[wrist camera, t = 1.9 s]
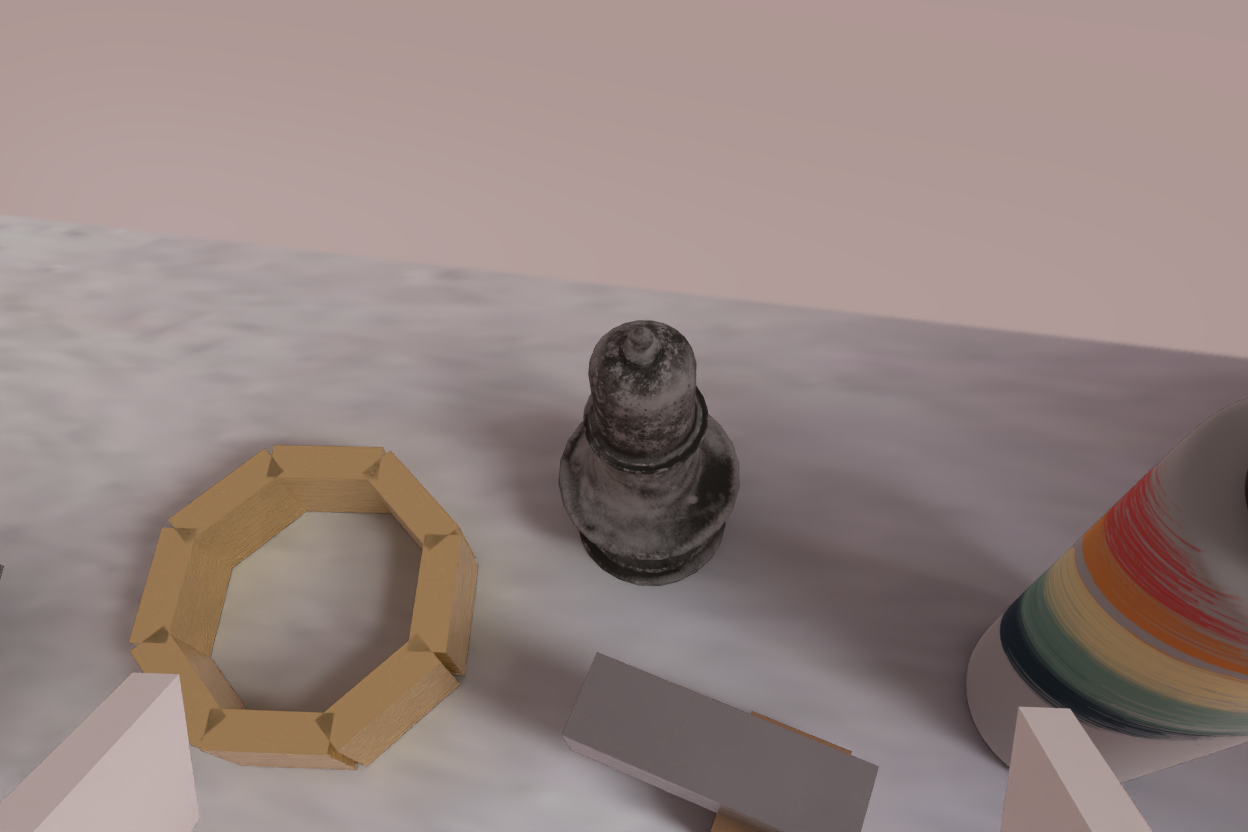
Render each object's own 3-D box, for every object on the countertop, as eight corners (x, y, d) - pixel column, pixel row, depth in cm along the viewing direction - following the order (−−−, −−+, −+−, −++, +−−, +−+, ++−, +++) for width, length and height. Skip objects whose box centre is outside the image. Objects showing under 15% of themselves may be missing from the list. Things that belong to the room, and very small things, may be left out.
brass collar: (488, 485, 35) (472, 448, 32) (453, 774, 30) (431, 759, 28) (222, 479, 36) (186, 443, 33) (148, 761, 31) (98, 746, 28)
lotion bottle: (1103, 598, 32) (1630, 192, 14) (1178, 776, 29) (1940, 546, 12) (938, 627, 32) (1264, 253, 14) (997, 809, 29) (1492, 628, 11)
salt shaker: (548, 472, 35) (492, 275, 25) (697, 420, 36) (705, 208, 25) (600, 618, 32) (564, 469, 22) (760, 559, 33) (800, 388, 23)
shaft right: (571, 783, 30) (552, 757, 25) (616, 675, 31) (605, 632, 27) (818, 892, 28) (845, 885, 24) (852, 772, 30) (884, 744, 25)
